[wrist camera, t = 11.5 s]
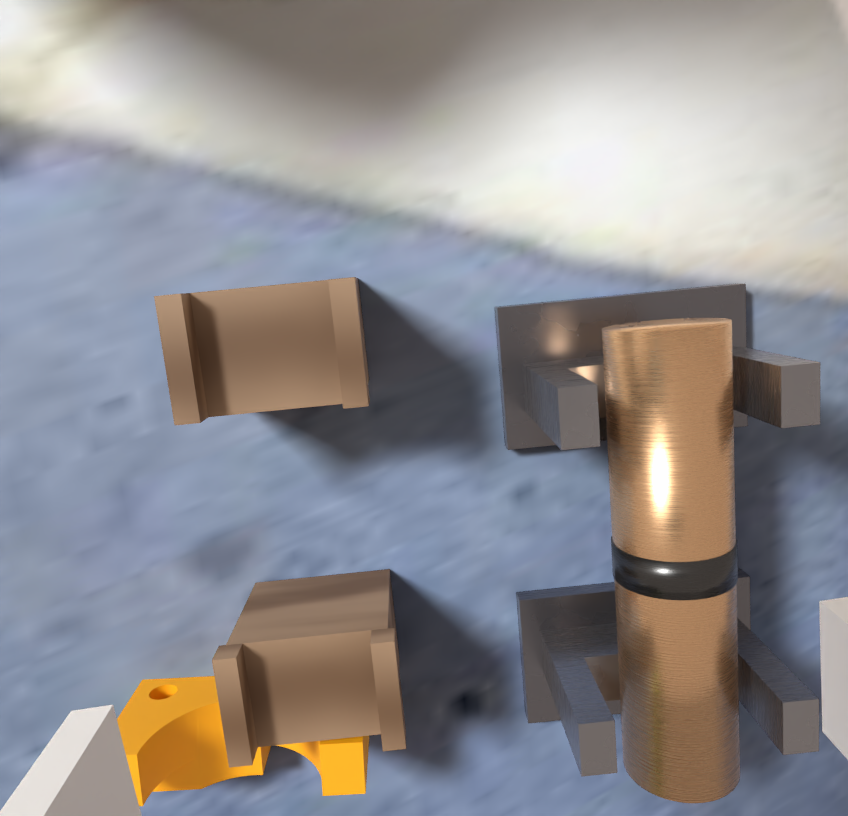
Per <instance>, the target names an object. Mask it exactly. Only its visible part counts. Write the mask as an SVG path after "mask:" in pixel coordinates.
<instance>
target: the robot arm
mask: <svg viewBox="0 0 848 816" xmlns="http://www.w3.org/2000/svg"><path fill="white" fill-rule="evenodd" d="M819 605H820V649H821V692H822V732H823V733H824V734H825V735H826V736H827V737H828V738H829V739H830V741H831V742H832V743H833V744H834V745H835V746H836V747H837V748H838V749H839V751H840V752H841V753H842V754H843V755H844V756H845V757H846V758H847V759H848V597H844V598H837V599H831V600H824V601H819ZM0 816H141V812H140V808H139V804H138V800H137V796H136V792H135V788H134V784H133V781H132V777H131V773H130V769H129V765H128V761H127V757H126V753H125V749H124V745H123V742H122V738H121V734H120V730H119V726H118V722H117V718H116V714H115V710H114V707H113V705H108V706H102V707H95V708H88V709H81V710H74V711H71V712H70V714H69V715H68V716H67V718H66V719H65V721H64V722H63V723H62V725H61V726H60V728H59V729H58V730H57V732H56V733H55V735H54V736H53V738H52V739H51V740H50V742H49V743H48V745H47V746H46V747H45V749H44V750H43V752H42V753H41V754H40V756H39V757H38V759H37V760H36V761H35V763H34V764H33V766H32V767H31V769H30V770H29V771H28V773H27V774H26V776H25V777H24V778H23V780H22V781H21V783H20V784H19V785H18V787H17V788H16V790H15V791H14V793H13V794H12V795H11V797H10V798H9V800H8V801H7V802H6V804H5V805H4V807H3V808H2V809H1V811H0Z"/></svg>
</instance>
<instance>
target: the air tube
mask: <svg viewBox="0 0 848 816" xmlns="http://www.w3.org/2000/svg"><path fill="white" fill-rule="evenodd" d="M602 343H603V363H604V383H605V403H606V423H607V443H608V463H609V483H610V503H611V523H612V537H611V546H612V566H613V576H614V583H615V603H616V623H617V643H618V663H619V683H620V703H621V723H622V743H623V761H624V766H625V768H626V771H627V772H628V774H629V776H630V777H631V778H632V779H633V780H634V781H635V782H636V783H637V784H638V785H639V786H641V787H642V788H643V789H645V790H647V791H648V792H650V793H652V794H654V795H657V796H659V797H662V798H665V799H668V800H672V801H677V802H683V803H705V802H710V801H714V800H717V799H720V798H722V797H724V796H726V795H728V794H729V793H730V792H732V791H733V790H734V788H735V787H736V786H737V784H738V782H739V778H740V751H739V695H738V639H737V581H738V566H737V540H736V527H735V471H734V415H733V359H732V320H731V319H725V318H679V319H663V320H650V321H640V322H631V323H623V324H617V325H612V326H607V327H604V328H602Z"/></svg>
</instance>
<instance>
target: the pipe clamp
mask: <svg viewBox="0 0 848 816" xmlns="http://www.w3.org/2000/svg"><path fill="white" fill-rule="evenodd" d="M117 722H118V726H119V730H120V734H121V738H122V742H123V745H124V749H125V753H126V757H127V761H128V765H129V769H130V773H131V777H132V781H133V784H134V788H135V792H136V796H137V800H138V804H139V806H143V805H144V803H145V801H146V800H147V798H148V797H149V795H150V794H151V792H155V791H173V790H191V789H202V788H204V787H207V786H209V785H212V784H214V783H217V782H220V781H223V780H227V779H231V778H235V777H240V776H248V775H263V773H264V769H265V766H266V762H267V758H268V755H269V751H270V748H271V746H265V747H258V749H257V752H256V755H255V758H254V762H253V765H249V766H240V767H230V768H229V764H228V758H227V751H226V745H225V739H224V733H223V726H222V720H221V714H220V707H219V701H218V695H217V689H216V682H215V676H207V677H188V678H169V679H149V680H142V681H141V683H140V684H139V686H138V688H137V689H136V691H135V692H134V694H133V695H132V697H131V698H130V700H129V702H128V703H127V705H126V706H125V708H124V709H123V711H122V712H121V714H120V716H119V717H118V719H117ZM276 746H281V747H285V748H289V749H291V750H294V751H296V752H298V753H300V754H302V755H303V756H305V757H307V758H308V759H309V760H310V761H311V762H312V763H313V764H314V765H315V766H316V768H317V769H318V771H319V773H320V775H321V778H322V790H323V796H329V795H347V794H364V793H366V779H367V764H368V749H369V736H360V737H350V738H341V739H331V740H322V741H312V742H303V743H293V744H284V745H276Z"/></svg>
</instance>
